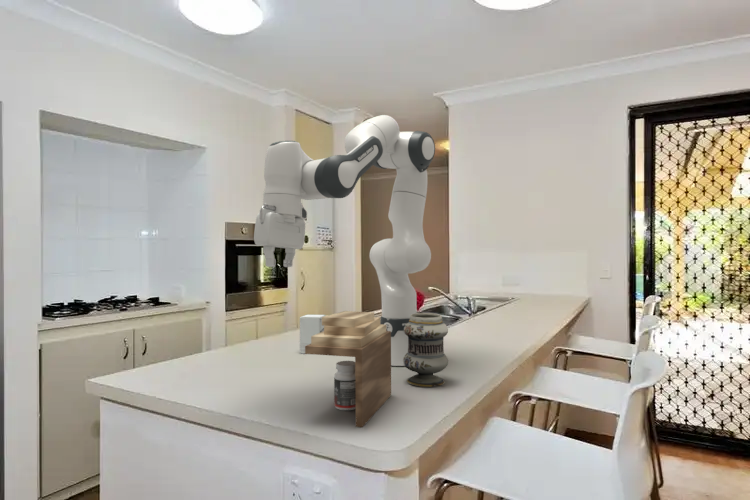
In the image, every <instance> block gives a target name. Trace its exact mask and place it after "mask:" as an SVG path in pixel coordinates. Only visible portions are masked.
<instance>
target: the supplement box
mask: <svg viewBox="0 0 750 500" xmlns="http://www.w3.org/2000/svg"><path fill="white" fill-rule="evenodd" d="M324 316H327V315H326V314H305V315H302V316H300V317H299V354H304V355H305V346H307V345H309V344H311V336H313V335H316V334H318V333H320V332H323V331H324V326H323V325H322V317H324Z"/></svg>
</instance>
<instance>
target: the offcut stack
mask: <svg viewBox="0 0 750 500" xmlns="http://www.w3.org/2000/svg"><path fill="white" fill-rule="evenodd" d="M380 320H381V316H379V317H378V316H377V317H376V316H375V312H373V311H372V312H371V311H356V310H351V311H350V310H343V311H340V312H335V313H332V314H328V315H326V316H324V317H322V325H323V326H324V331H323V332H320V333H318V334H316V335H313V336H311V345H322V346H339V347H356V348H361V347H363V346H365V345H366V344H368V343H370V342H371V341H373V340H374V339H376V338H378V337H379V336H381V335H383V334H384V333H386V325H383V324H380Z"/></svg>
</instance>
